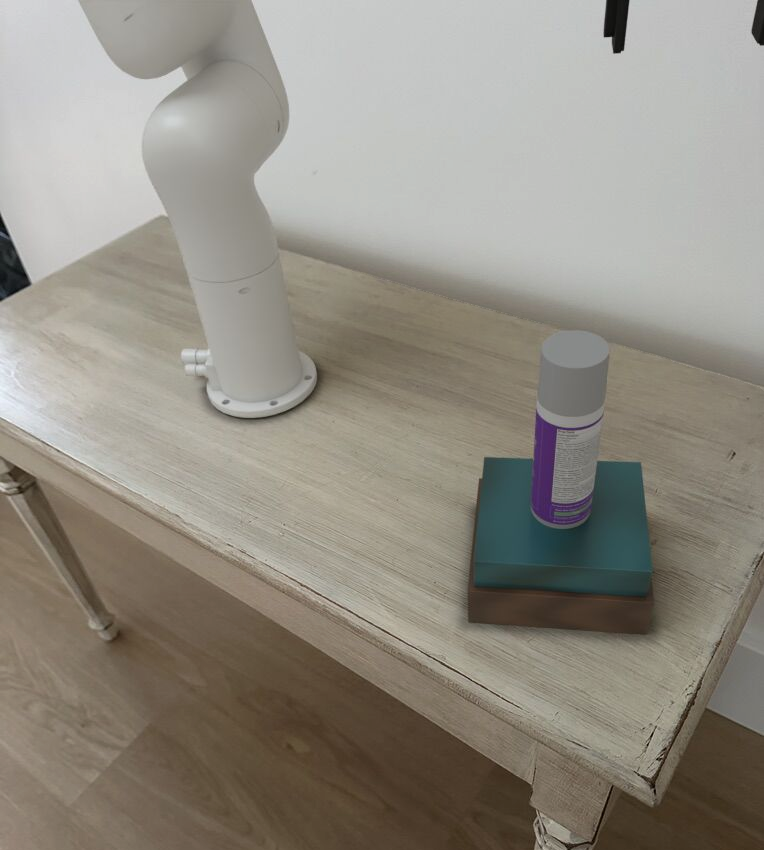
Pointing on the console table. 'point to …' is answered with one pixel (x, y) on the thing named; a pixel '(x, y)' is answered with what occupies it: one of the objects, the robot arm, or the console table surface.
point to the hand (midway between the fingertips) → (687, 43)
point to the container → (568, 427)
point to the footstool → (561, 554)
